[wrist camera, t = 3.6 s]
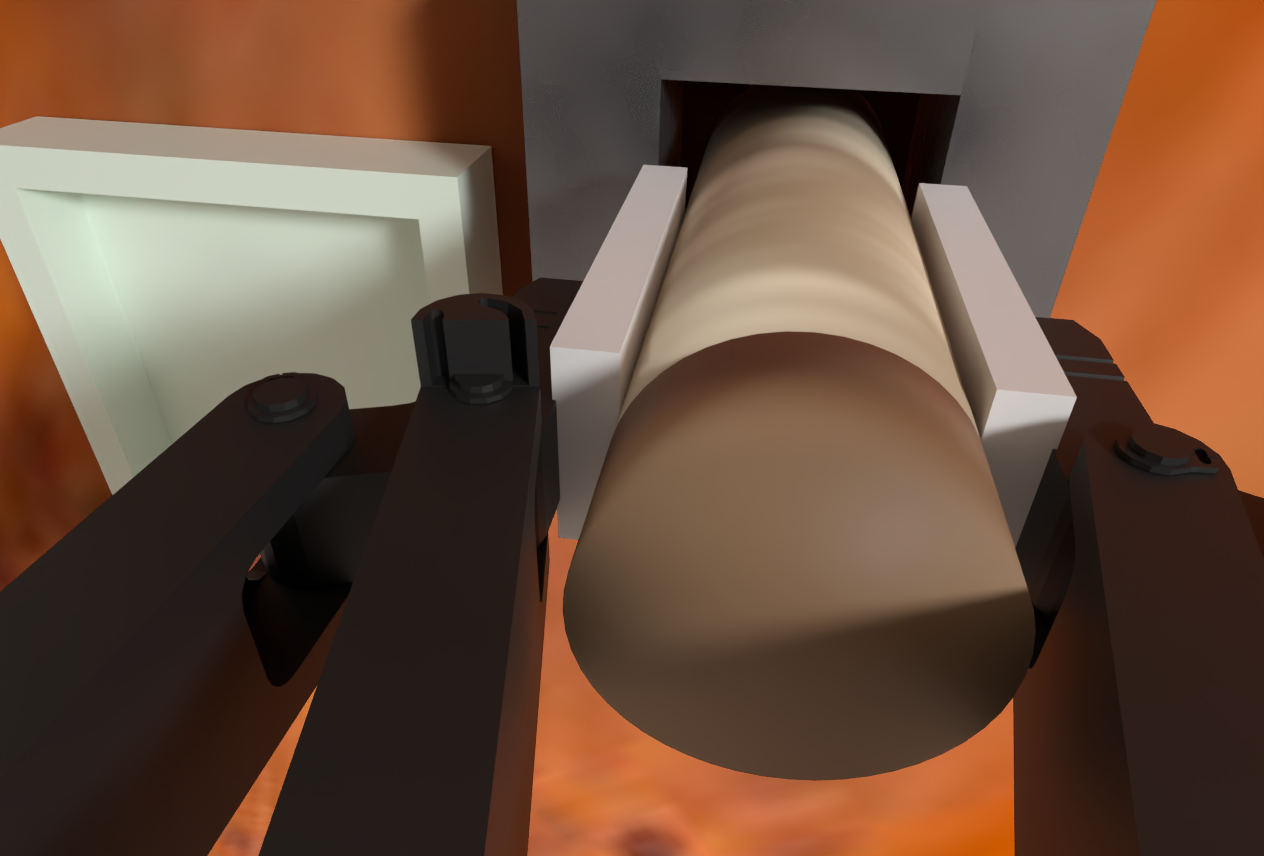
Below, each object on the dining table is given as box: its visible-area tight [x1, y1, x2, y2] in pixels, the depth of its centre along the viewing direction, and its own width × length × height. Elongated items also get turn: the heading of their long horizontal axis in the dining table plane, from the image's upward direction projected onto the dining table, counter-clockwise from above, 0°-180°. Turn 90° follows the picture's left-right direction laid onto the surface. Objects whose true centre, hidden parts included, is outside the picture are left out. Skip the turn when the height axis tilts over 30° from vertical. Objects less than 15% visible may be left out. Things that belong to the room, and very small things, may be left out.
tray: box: [0, 116, 503, 495], centre depth 23 cm, size 12×12×2 cm
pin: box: [563, 84, 1036, 780], centre depth 13 cm, size 4×4×14 cm
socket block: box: [517, 0, 1156, 318], centre depth 17 cm, size 10×10×4 cm
